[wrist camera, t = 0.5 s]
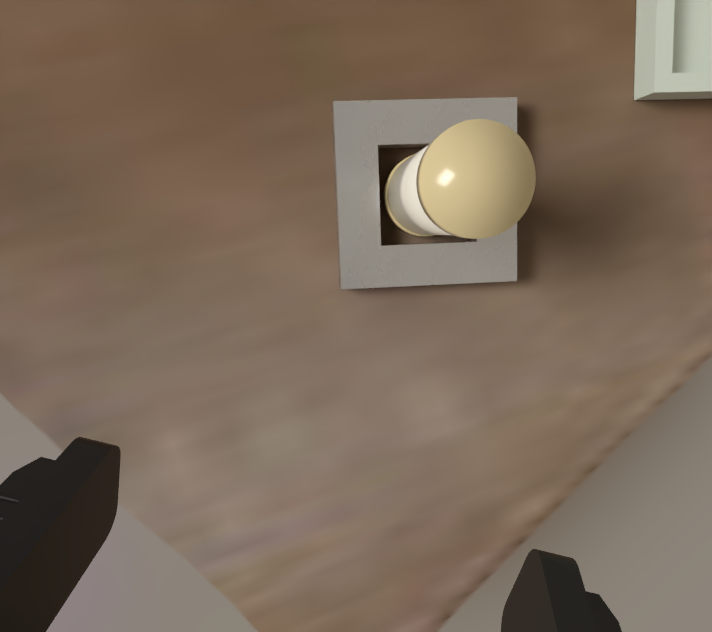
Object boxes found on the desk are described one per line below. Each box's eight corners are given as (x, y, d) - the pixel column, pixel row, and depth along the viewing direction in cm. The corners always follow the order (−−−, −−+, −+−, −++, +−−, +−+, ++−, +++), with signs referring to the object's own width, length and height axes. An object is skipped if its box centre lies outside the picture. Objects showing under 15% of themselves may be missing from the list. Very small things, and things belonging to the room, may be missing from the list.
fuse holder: (331, 106, 33) (333, 101, 32) (507, 103, 34) (517, 97, 33) (339, 286, 35) (341, 289, 33) (508, 278, 36) (516, 281, 34)
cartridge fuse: (381, 155, 34) (419, 120, 23) (461, 153, 34) (536, 117, 23) (384, 237, 35) (422, 241, 24) (462, 234, 35) (535, 236, 24)
